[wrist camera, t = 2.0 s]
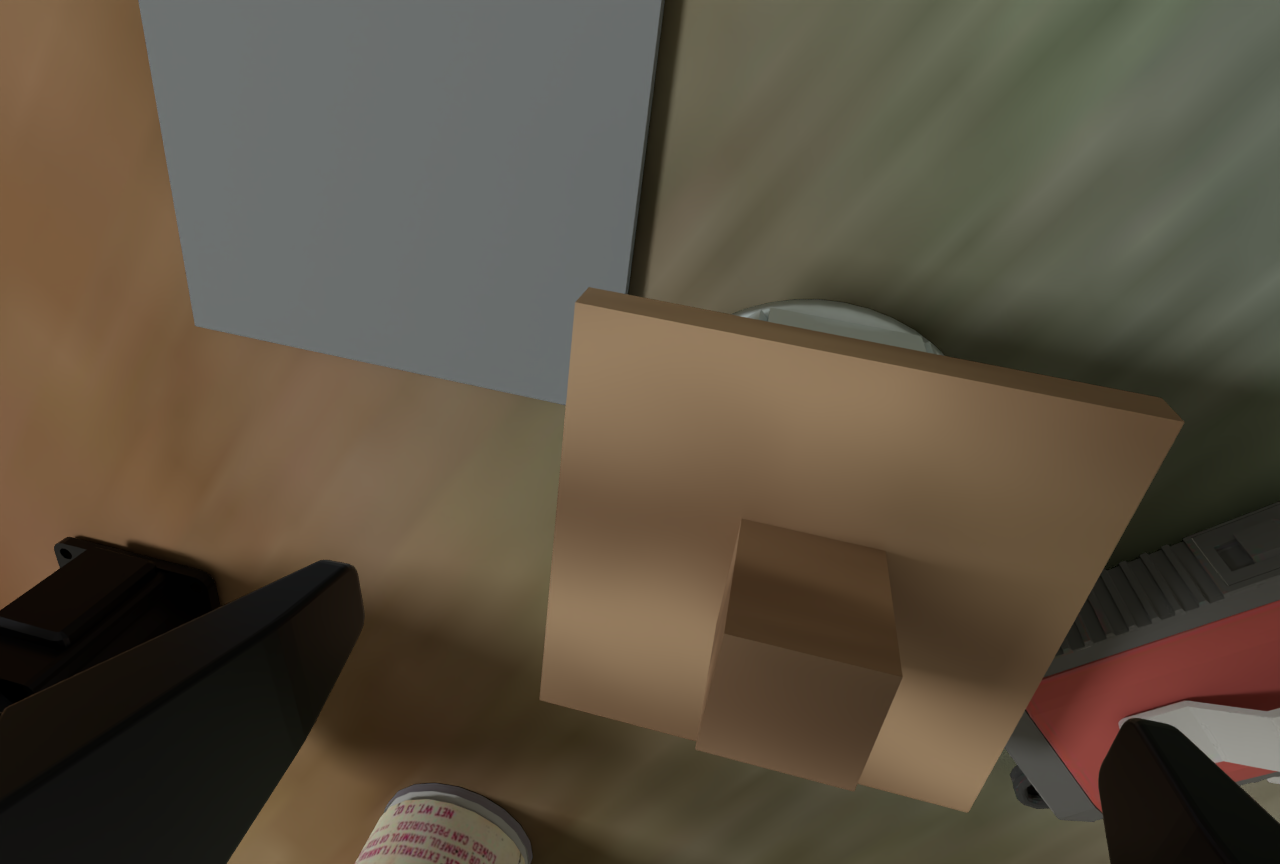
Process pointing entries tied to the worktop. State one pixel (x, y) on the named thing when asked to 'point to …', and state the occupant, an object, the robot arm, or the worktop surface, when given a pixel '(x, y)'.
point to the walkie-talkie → (1163, 666)
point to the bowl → (841, 322)
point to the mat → (406, 173)
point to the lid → (826, 541)
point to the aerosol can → (445, 830)
